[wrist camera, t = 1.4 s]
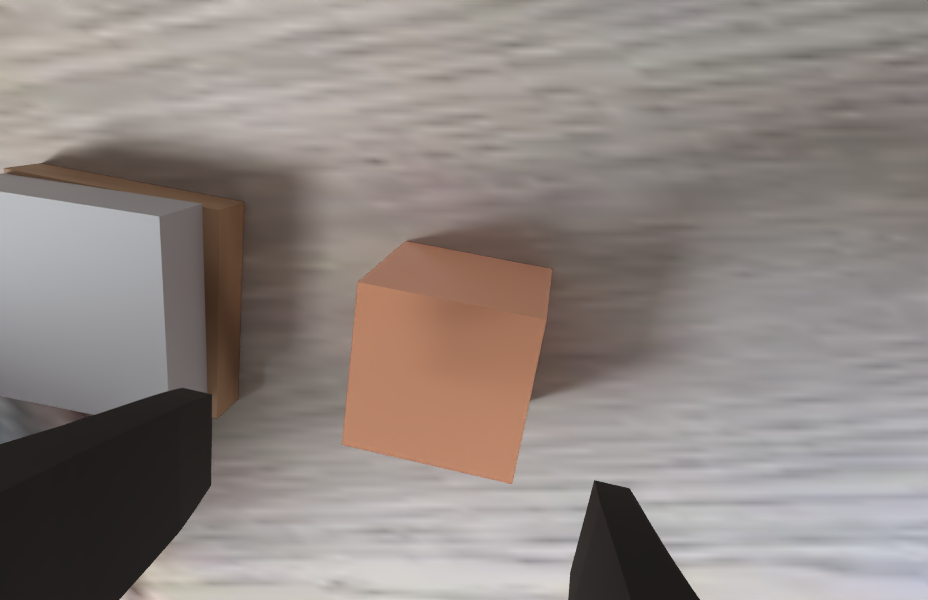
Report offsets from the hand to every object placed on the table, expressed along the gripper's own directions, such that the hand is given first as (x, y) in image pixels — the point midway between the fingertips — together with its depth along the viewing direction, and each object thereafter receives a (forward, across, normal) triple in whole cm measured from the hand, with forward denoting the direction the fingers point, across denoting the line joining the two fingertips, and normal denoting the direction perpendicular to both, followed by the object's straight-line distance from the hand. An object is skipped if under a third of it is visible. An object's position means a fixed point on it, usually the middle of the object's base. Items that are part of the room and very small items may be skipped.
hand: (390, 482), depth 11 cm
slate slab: (+7, +11, +1) cm, 13 cm away
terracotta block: (+8, 0, 0) cm, 8 cm away
